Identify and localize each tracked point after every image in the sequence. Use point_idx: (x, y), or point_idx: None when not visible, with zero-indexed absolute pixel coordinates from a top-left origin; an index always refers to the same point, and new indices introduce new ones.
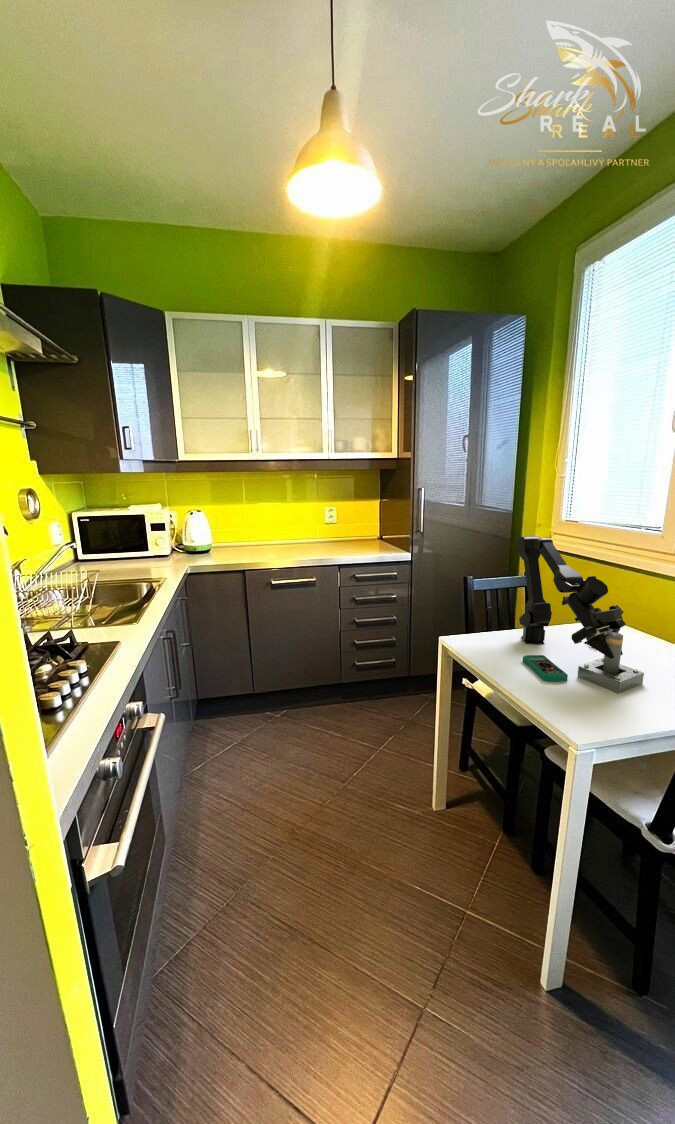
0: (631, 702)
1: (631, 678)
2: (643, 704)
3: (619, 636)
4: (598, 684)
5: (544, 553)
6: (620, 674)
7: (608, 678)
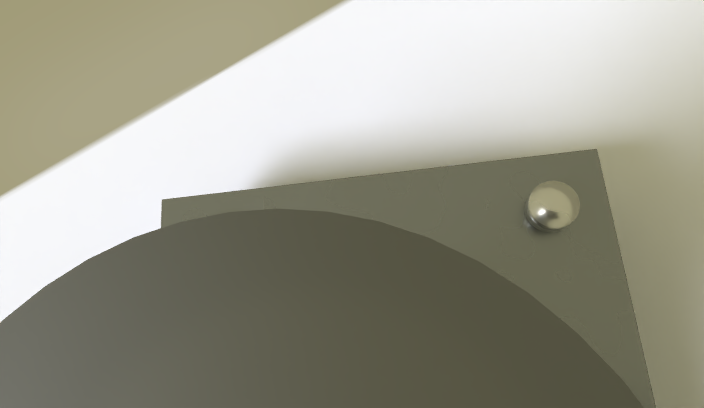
0: (592, 66)
1: (384, 176)
2: (532, 21)
3: (335, 298)
4: None
5: None
6: None
7: (618, 269)
